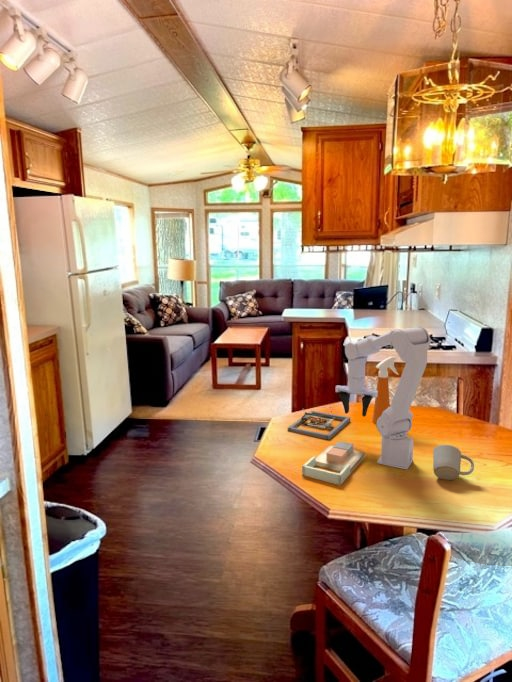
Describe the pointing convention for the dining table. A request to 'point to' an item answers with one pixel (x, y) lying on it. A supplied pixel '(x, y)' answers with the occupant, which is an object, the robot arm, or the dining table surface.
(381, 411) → the spray bottle
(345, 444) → the tile slate
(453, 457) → the ceramic mug
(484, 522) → the dining table surface
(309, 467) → the tray
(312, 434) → the gray open frame
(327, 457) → the tile terracotta
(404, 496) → the dining table surface
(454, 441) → the dining table surface
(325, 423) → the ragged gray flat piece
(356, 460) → the board
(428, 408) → the dining table surface
